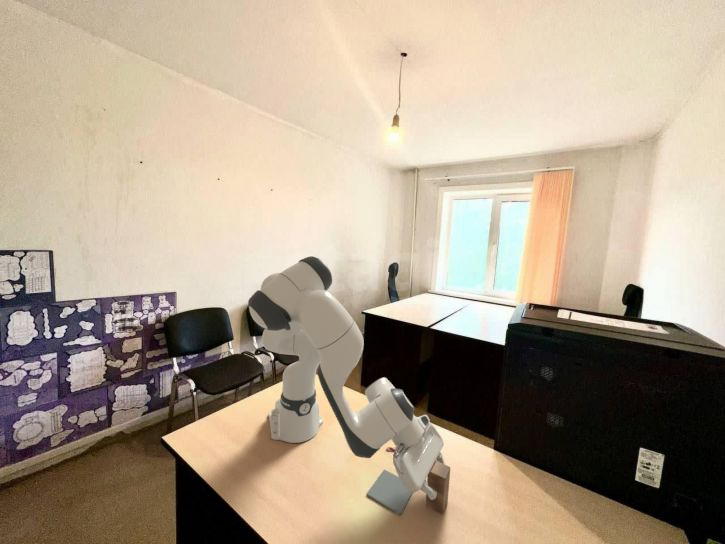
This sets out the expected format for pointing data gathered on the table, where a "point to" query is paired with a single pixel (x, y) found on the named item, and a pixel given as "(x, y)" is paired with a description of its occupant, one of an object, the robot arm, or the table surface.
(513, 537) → the table surface
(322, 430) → the table surface
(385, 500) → the slate mat
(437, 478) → the walnut block
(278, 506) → the table surface
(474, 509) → the table surface
